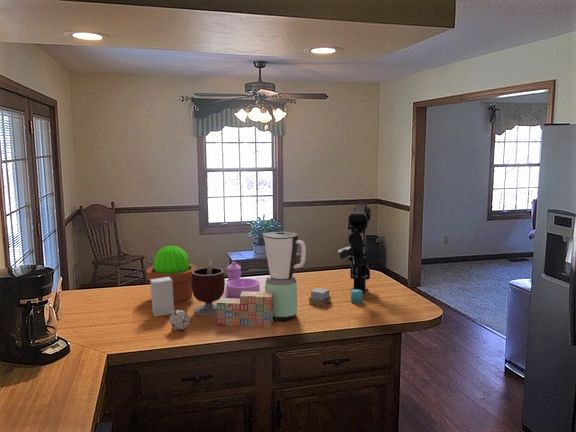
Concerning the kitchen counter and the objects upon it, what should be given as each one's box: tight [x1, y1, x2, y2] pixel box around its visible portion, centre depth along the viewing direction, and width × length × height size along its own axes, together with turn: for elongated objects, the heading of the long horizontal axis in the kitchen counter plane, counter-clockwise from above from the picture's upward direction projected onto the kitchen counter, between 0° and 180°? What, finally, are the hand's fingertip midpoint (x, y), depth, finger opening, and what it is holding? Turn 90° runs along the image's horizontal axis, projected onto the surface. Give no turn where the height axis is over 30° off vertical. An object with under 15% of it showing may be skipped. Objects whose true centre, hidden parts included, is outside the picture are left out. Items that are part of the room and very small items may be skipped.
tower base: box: [308, 295, 332, 307], centre depth 218 cm, size 7×7×3 cm
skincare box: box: [150, 277, 175, 317], centre depth 204 cm, size 8×6×15 cm
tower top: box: [310, 287, 330, 300], centre depth 218 cm, size 6×6×3 cm
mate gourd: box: [191, 259, 226, 316], centre depth 208 cm, size 16×14×20 cm
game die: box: [166, 307, 193, 333], centre depth 186 cm, size 9×8×10 cm
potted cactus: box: [145, 244, 198, 303], centre depth 225 cm, size 22×22×25 cm
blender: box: [261, 231, 307, 322], centre depth 198 cm, size 19×13×35 cm
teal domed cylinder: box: [350, 289, 363, 305], centre depth 219 cm, size 5×5×5 cm
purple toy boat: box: [225, 261, 261, 299], centre depth 232 cm, size 25×15×13 cm, turn 23°
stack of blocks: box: [216, 291, 274, 328], centre depth 193 cm, size 21×6×12 cm, turn 85°
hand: (356, 275), depth 218 cm, fingers open, 9 cm apart
